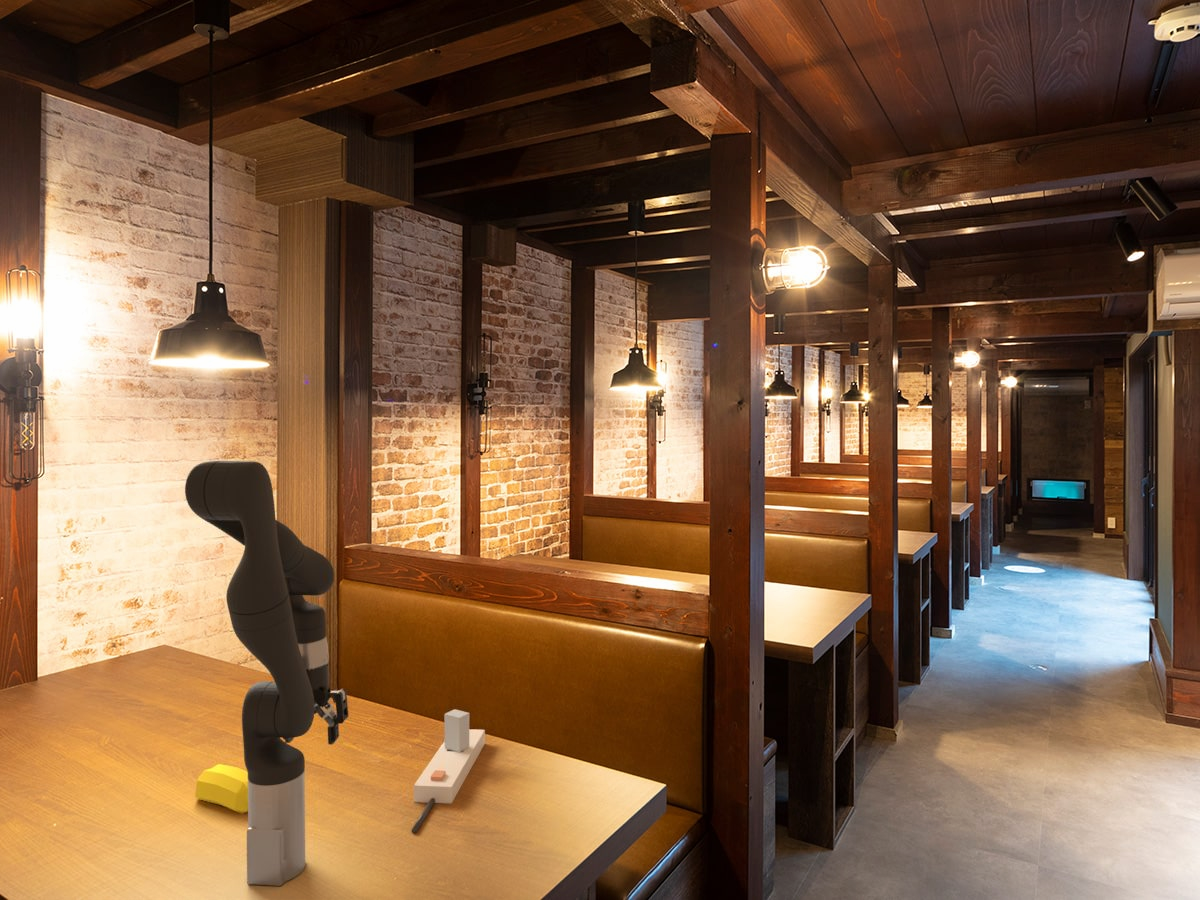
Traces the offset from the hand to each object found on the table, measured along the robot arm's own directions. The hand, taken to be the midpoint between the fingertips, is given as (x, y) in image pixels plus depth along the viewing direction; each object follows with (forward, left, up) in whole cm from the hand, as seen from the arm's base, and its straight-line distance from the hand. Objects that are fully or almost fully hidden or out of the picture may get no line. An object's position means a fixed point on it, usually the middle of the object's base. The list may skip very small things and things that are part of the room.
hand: (311, 741), depth 147 cm
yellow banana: (+10, +22, -18) cm, 30 cm away
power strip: (+22, -20, -17) cm, 34 cm away
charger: (+32, -20, -15) cm, 40 cm away
